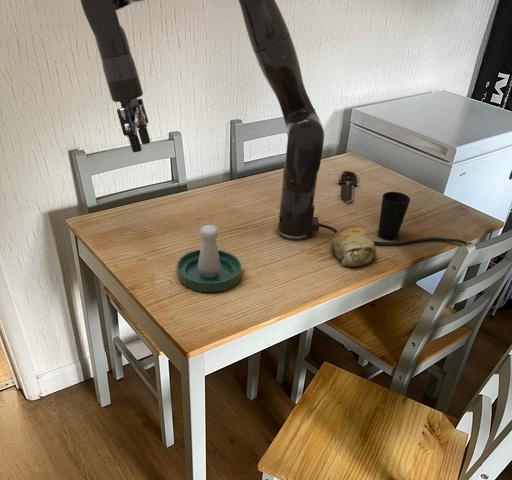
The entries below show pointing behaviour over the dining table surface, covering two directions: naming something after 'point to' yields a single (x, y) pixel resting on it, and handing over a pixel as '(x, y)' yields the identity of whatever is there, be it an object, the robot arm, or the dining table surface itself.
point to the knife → (350, 185)
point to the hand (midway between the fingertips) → (142, 147)
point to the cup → (392, 214)
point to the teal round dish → (196, 281)
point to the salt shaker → (209, 252)
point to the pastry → (353, 246)
